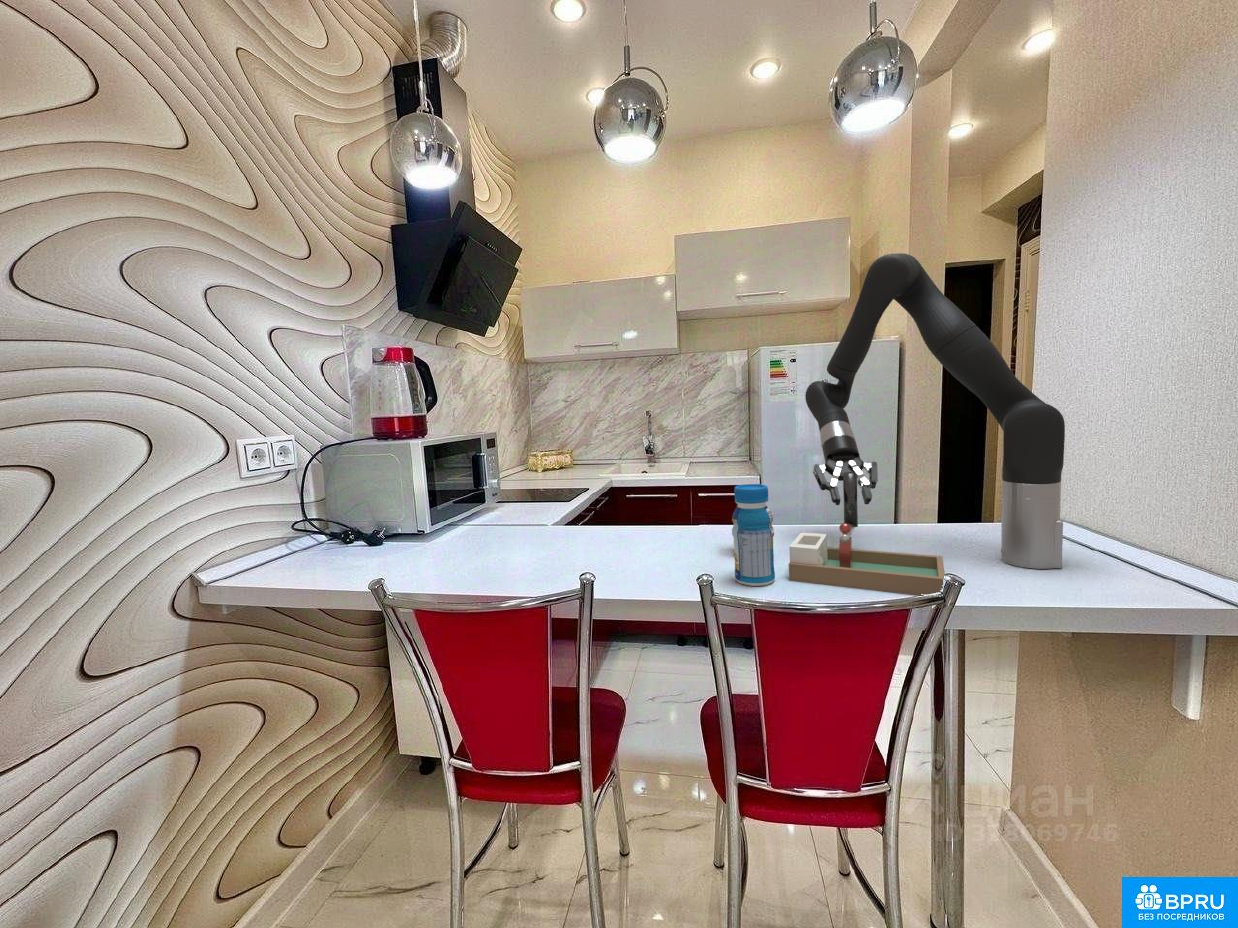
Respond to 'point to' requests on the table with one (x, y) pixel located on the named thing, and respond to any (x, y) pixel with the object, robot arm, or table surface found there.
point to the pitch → (864, 568)
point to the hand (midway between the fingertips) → (852, 502)
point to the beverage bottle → (753, 536)
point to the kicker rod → (848, 518)
